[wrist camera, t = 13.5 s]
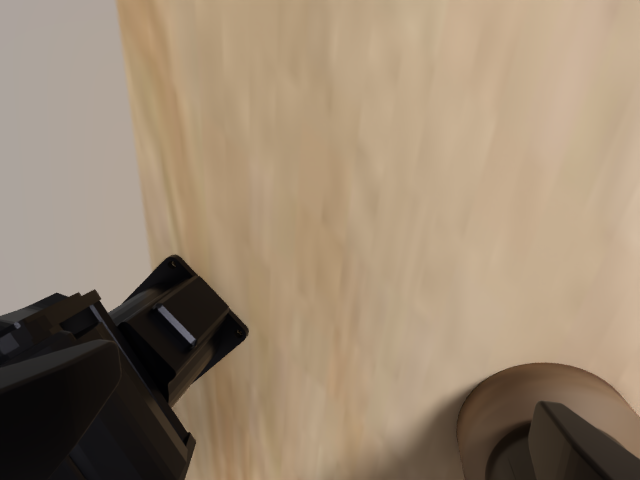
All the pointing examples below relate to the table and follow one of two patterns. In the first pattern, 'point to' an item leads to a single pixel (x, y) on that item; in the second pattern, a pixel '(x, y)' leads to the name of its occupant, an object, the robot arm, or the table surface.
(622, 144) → the table surface
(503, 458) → the supplement bottle
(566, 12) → the table surface
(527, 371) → the walnut stand
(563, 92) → the table surface
